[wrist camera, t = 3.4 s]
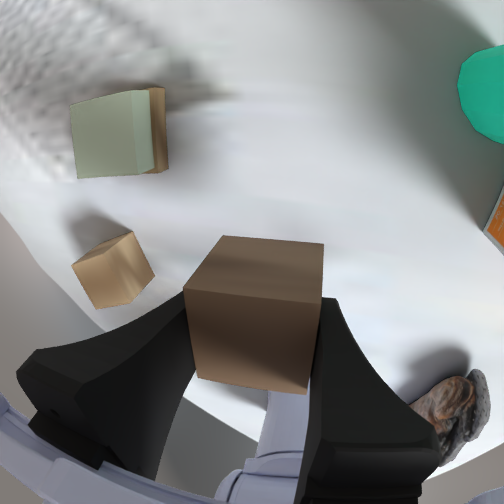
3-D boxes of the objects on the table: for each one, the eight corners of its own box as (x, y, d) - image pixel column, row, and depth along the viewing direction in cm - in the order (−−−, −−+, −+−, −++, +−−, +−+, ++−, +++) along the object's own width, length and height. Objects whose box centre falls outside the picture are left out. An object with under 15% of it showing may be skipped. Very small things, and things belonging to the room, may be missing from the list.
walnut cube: (314, 326, 14) (306, 395, 10) (227, 315, 14) (197, 377, 11) (323, 243, 12) (321, 303, 8) (222, 235, 13) (182, 287, 9)
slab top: (154, 167, 19) (138, 175, 17) (95, 171, 20) (77, 178, 18) (149, 90, 16) (131, 90, 15) (89, 103, 17) (69, 105, 16)
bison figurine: (486, 351, 21) (386, 365, 23) (511, 410, 15) (397, 435, 17) (449, 423, 26) (368, 435, 28) (460, 473, 20) (370, 490, 22)
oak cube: (155, 275, 24) (130, 303, 21) (121, 283, 26) (95, 309, 22) (133, 230, 23) (103, 253, 19) (100, 243, 24) (71, 265, 21)
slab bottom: (172, 166, 20) (158, 173, 19) (109, 169, 21) (93, 175, 20) (168, 88, 18) (153, 87, 16) (104, 98, 19) (87, 100, 17)
